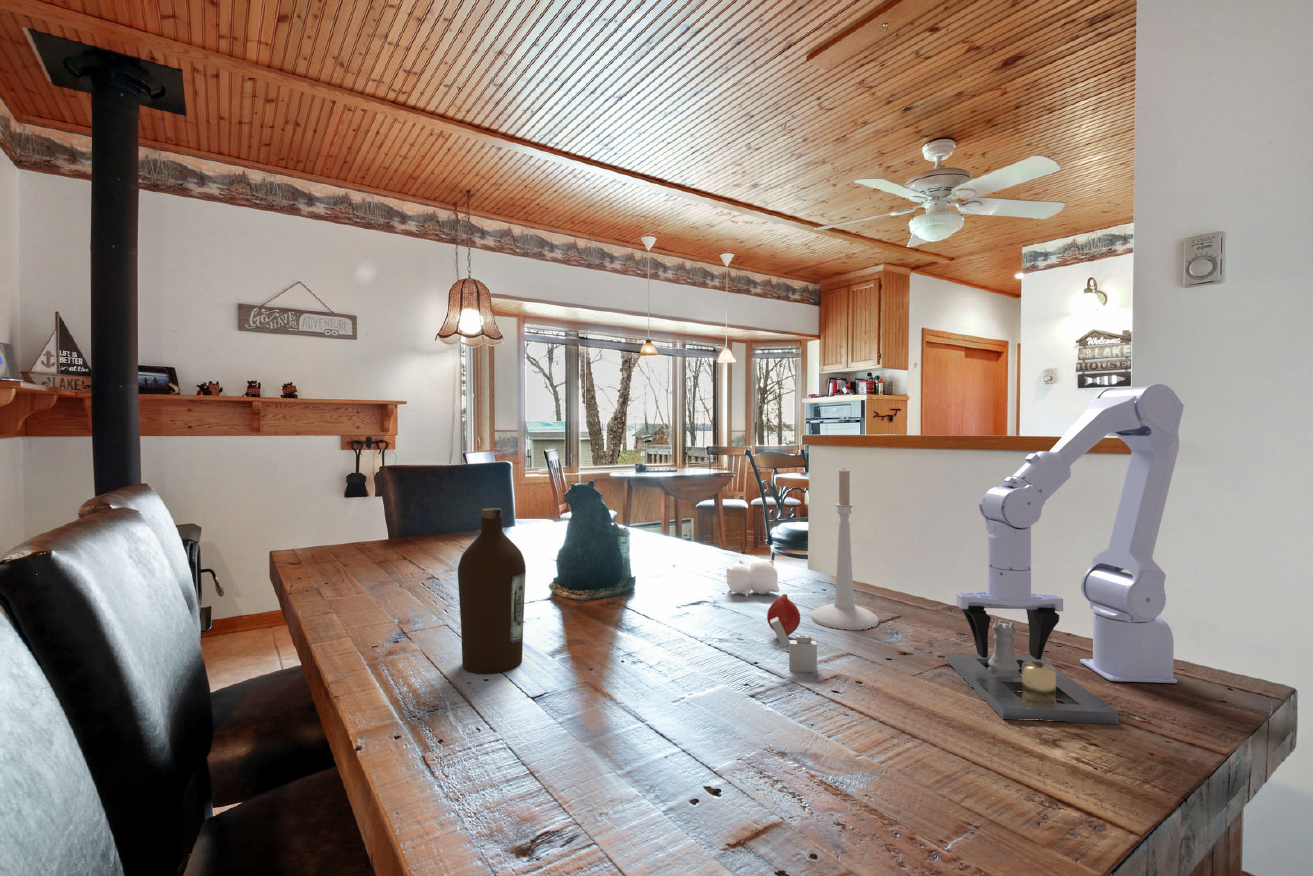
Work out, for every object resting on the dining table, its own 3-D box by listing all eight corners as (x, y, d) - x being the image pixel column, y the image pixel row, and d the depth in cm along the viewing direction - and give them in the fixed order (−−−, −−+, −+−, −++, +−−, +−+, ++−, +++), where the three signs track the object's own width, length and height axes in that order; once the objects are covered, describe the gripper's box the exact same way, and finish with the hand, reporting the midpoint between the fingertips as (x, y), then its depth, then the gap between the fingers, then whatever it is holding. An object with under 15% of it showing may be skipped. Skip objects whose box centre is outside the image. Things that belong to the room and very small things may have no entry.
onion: (764, 640, 112) (764, 596, 112) (770, 631, 117) (770, 588, 117) (797, 644, 110) (797, 599, 110) (802, 634, 115) (802, 591, 115)
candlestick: (885, 616, 126) (885, 467, 126) (869, 634, 115) (869, 471, 115) (822, 607, 133) (822, 465, 133) (801, 623, 122) (801, 469, 122)
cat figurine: (725, 554, 142) (777, 551, 144) (718, 570, 151) (767, 567, 153) (731, 592, 138) (784, 588, 139) (724, 606, 147) (774, 603, 148)
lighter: (815, 667, 99) (815, 617, 99) (817, 672, 97) (817, 620, 97) (769, 666, 100) (769, 616, 100) (770, 670, 98) (770, 619, 98)
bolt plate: (1039, 665, 100) (1039, 634, 100) (1118, 724, 80) (1118, 685, 80) (947, 662, 101) (947, 631, 101) (1003, 719, 81) (1003, 681, 81)
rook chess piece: (1024, 681, 93) (1024, 628, 93) (990, 678, 95) (990, 625, 95) (1016, 670, 98) (1016, 619, 97) (984, 667, 99) (984, 617, 99)
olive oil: (450, 676, 96) (448, 513, 96) (468, 652, 107) (467, 505, 106) (519, 675, 96) (518, 513, 96) (531, 651, 107) (530, 504, 107)
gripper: (1046, 562, 98) (1045, 648, 98) (949, 560, 99) (949, 645, 100) (1071, 572, 91) (1070, 665, 91) (966, 570, 92) (966, 662, 93)
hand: (1008, 656), depth 95 cm, fingers open, 7 cm apart
